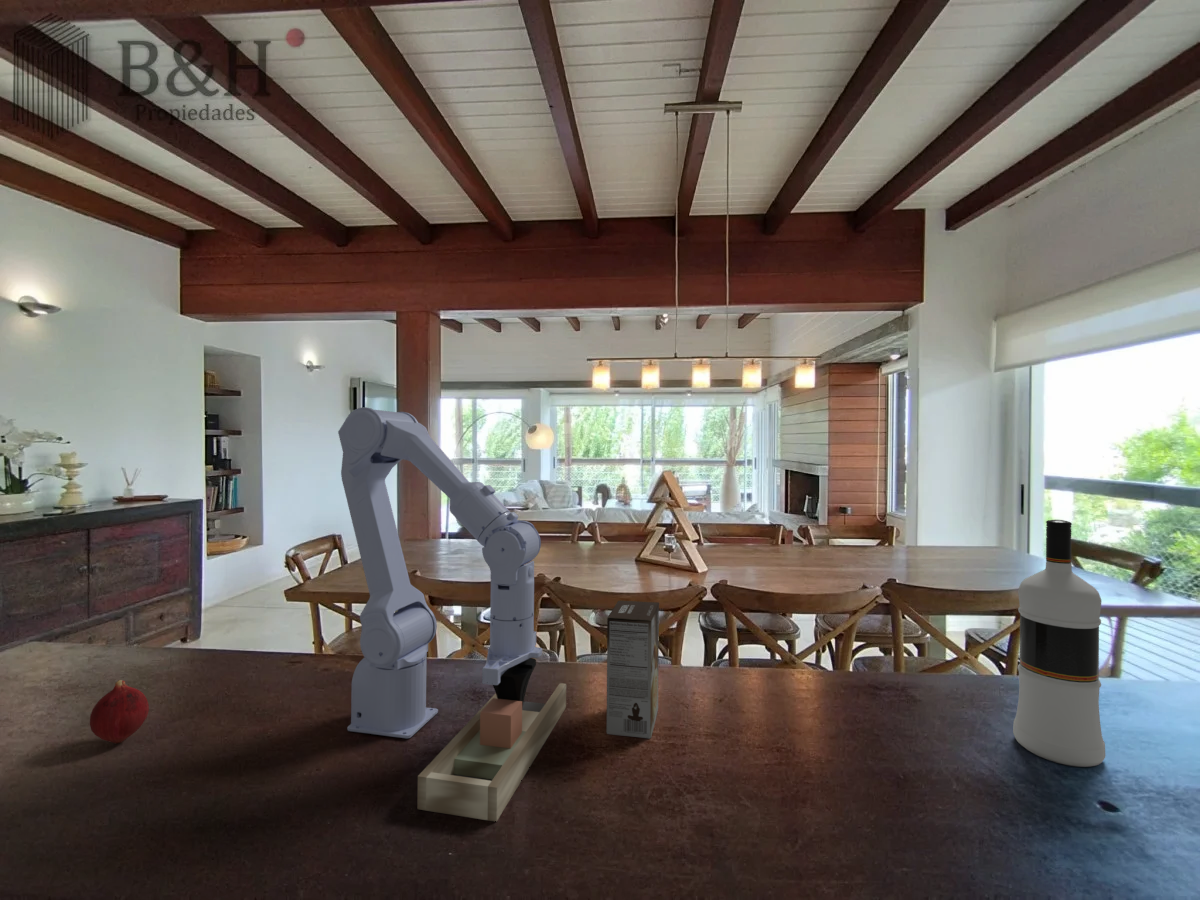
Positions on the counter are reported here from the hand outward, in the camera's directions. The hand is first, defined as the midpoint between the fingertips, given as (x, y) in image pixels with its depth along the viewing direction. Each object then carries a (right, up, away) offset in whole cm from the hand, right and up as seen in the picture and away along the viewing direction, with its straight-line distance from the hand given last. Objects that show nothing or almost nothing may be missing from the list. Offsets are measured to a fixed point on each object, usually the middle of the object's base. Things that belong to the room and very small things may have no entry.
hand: (511, 717), depth 73 cm
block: (-1, -1, -3) cm, 4 cm away
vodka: (+71, -4, -1) cm, 71 cm away
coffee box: (+17, -3, +6) cm, 18 cm away
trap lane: (-1, -3, -2) cm, 4 cm away
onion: (-50, -3, -1) cm, 51 cm away
